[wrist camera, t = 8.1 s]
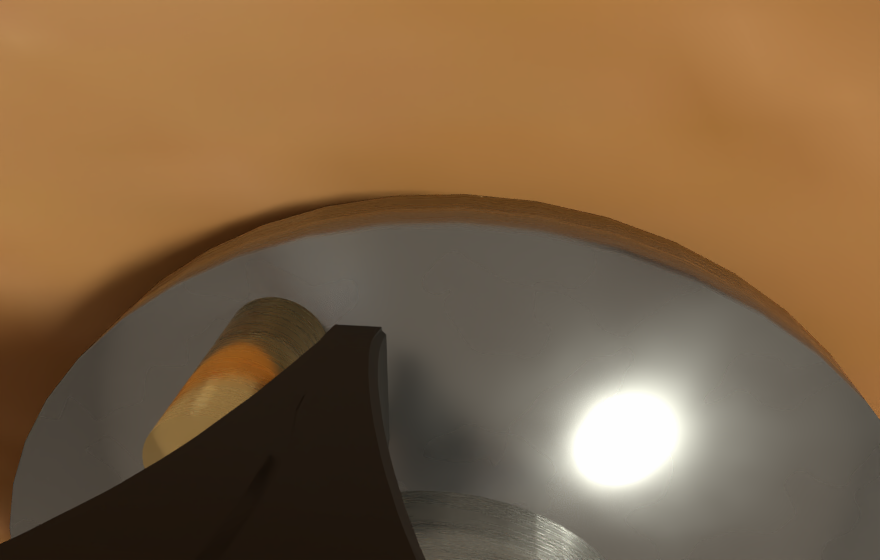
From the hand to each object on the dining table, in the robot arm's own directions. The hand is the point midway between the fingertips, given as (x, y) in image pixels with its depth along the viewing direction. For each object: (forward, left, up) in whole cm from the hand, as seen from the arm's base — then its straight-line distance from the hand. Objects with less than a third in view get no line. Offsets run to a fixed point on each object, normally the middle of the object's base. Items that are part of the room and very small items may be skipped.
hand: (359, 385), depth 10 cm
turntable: (-7, -1, -3) cm, 8 cm away
